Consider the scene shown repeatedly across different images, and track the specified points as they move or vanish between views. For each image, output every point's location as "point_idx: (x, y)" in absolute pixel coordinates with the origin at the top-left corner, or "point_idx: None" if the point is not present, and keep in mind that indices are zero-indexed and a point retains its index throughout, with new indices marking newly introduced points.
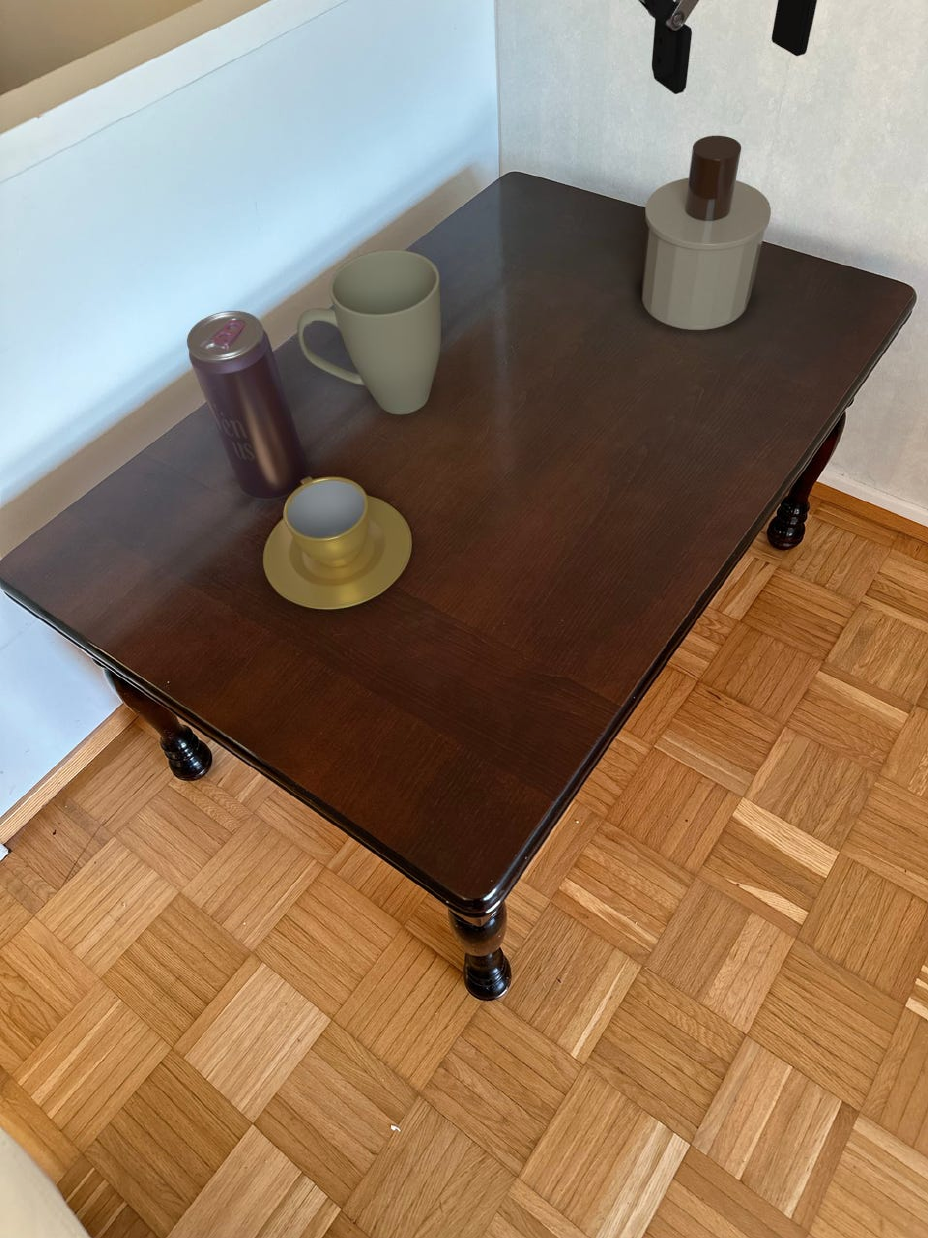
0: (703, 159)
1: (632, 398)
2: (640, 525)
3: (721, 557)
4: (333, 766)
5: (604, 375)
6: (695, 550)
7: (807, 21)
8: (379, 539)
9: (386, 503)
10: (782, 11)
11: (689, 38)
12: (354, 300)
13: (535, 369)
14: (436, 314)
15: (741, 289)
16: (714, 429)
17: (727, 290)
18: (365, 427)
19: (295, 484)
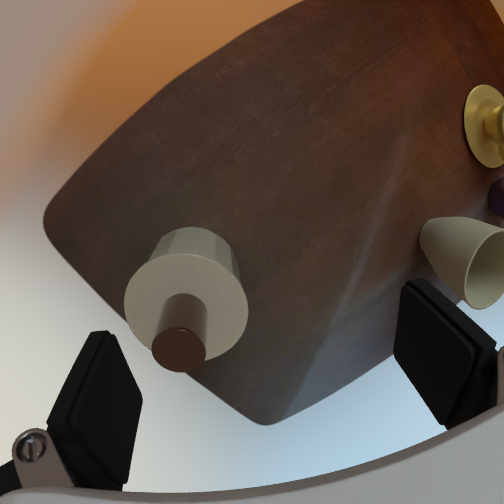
0: (200, 338)
1: (295, 167)
2: (341, 47)
3: (300, 2)
4: (496, 22)
5: (304, 202)
6: (314, 14)
7: (82, 373)
8: (476, 119)
9: (469, 143)
10: (125, 430)
11: (469, 335)
12: (481, 284)
13: (349, 229)
14: (464, 239)
15: (166, 240)
16: (247, 108)
17: (182, 237)
18: (457, 216)
19: (499, 180)
